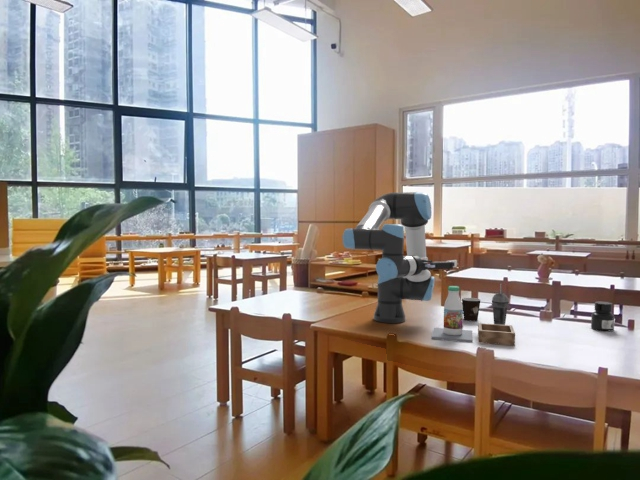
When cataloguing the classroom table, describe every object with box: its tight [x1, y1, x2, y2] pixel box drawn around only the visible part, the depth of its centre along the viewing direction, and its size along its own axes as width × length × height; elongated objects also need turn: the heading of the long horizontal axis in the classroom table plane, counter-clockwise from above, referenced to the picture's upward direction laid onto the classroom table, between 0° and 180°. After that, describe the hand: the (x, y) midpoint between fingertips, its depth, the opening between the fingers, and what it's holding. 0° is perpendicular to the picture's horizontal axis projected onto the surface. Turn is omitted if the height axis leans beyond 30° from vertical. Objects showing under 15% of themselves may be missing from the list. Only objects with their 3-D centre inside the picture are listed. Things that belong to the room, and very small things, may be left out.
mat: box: [431, 327, 474, 343], centre depth 198 cm, size 16×16×1 cm
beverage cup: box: [491, 283, 509, 325], centre depth 214 cm, size 7×7×20 cm
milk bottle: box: [443, 285, 464, 335], centre depth 197 cm, size 8×8×20 cm
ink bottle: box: [590, 300, 615, 332], centre depth 211 cm, size 10×9×12 cm
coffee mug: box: [461, 297, 481, 322], centre depth 228 cm, size 12×9×10 cm
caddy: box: [477, 322, 516, 347], centre depth 192 cm, size 13×13×5 cm
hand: (441, 261), depth 190 cm, fingers open, 13 cm apart
